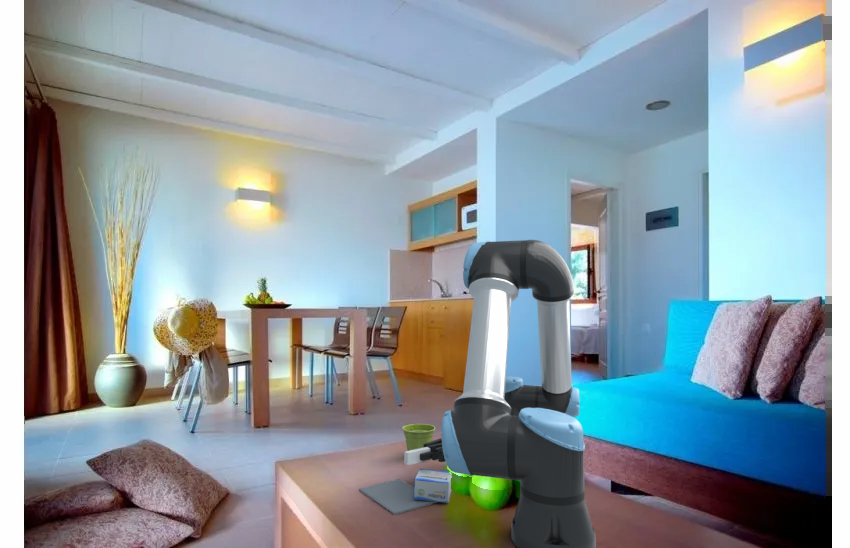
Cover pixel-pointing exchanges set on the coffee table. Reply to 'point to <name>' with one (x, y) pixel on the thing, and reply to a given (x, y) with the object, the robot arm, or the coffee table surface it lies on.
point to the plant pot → (418, 435)
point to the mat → (395, 496)
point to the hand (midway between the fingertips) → (406, 458)
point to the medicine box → (432, 485)
